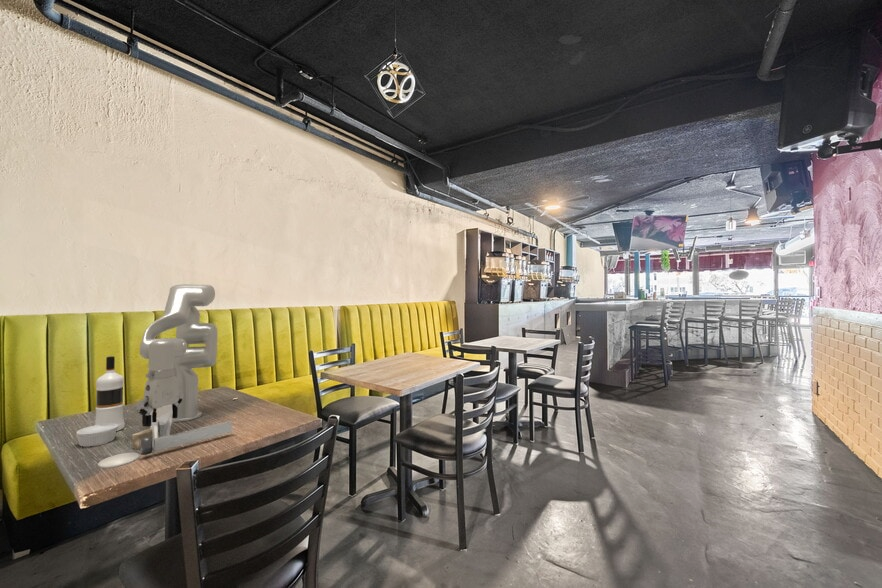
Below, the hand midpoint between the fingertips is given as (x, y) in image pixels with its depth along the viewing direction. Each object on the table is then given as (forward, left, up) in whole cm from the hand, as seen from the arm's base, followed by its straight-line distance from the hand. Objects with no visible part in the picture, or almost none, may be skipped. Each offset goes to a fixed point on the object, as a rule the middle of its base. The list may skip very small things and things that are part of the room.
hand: (160, 422), depth 131 cm
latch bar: (+10, +3, -7) cm, 13 cm away
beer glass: (0, +1, -9) cm, 9 cm away
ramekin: (-26, -2, -9) cm, 28 cm away
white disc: (-1, -12, -9) cm, 15 cm away
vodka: (-35, +8, -9) cm, 37 cm away
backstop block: (-6, +1, -9) cm, 11 cm away
